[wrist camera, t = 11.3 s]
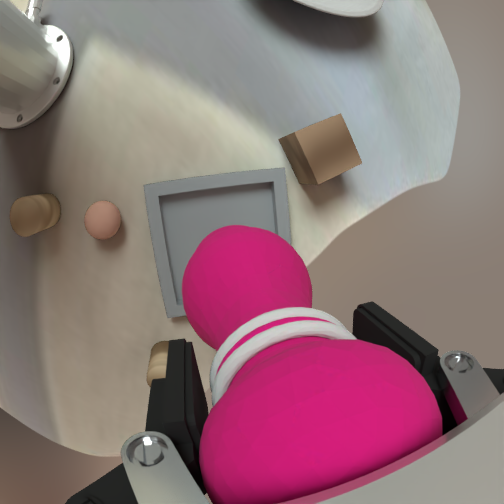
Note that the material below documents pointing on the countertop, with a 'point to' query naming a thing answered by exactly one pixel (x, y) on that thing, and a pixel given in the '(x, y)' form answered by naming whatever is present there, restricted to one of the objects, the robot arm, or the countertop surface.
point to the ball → (102, 220)
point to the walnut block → (321, 151)
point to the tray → (209, 218)
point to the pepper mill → (292, 379)
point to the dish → (345, 7)
